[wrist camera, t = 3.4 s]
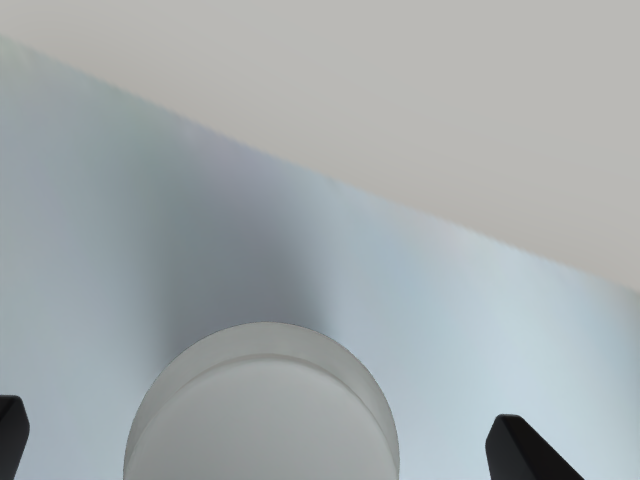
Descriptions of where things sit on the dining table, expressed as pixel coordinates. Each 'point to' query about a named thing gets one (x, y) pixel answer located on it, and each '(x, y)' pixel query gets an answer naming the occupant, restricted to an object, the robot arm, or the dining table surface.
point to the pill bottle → (263, 412)
